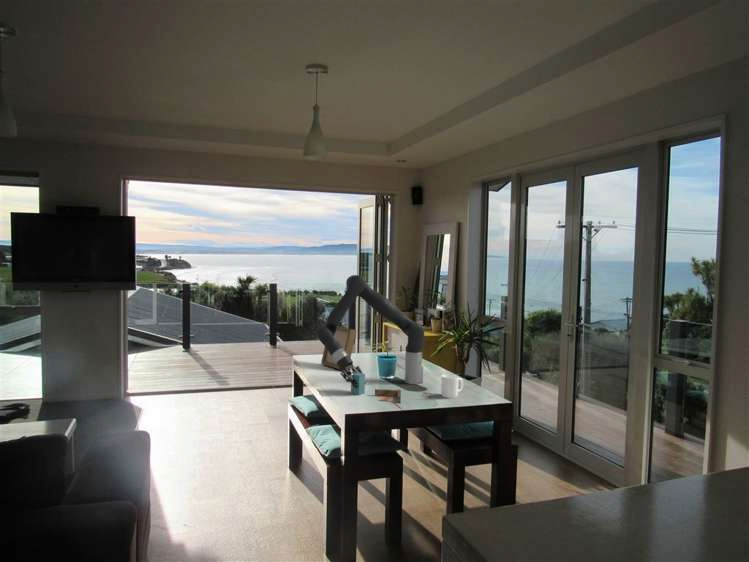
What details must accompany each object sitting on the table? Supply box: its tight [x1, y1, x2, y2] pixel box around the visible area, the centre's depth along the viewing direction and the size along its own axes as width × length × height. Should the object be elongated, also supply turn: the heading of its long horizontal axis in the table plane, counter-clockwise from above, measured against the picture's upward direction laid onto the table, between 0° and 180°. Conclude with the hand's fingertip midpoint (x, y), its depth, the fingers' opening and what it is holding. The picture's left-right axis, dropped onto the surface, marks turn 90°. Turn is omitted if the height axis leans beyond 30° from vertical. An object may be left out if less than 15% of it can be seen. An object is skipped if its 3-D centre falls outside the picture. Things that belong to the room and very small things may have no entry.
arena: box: [374, 388, 402, 404], centre depth 270 cm, size 13×13×3 cm
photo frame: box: [320, 326, 357, 370], centre depth 338 cm, size 15×22×25 cm
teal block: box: [350, 372, 366, 396], centre depth 279 cm, size 5×5×10 cm
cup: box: [440, 374, 464, 399], centre depth 279 cm, size 8×12×10 cm
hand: (360, 385), depth 278 cm, fingers open, 6 cm apart
